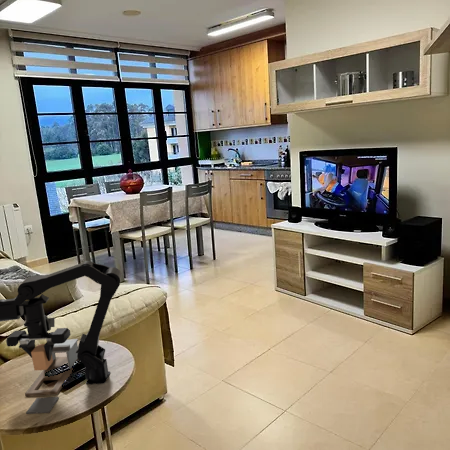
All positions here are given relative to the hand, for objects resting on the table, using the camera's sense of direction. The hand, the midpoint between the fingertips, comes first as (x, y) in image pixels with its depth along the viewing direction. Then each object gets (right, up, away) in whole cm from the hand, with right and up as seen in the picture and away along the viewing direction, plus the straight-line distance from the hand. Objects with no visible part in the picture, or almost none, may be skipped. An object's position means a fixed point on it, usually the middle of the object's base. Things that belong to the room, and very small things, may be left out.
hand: (43, 360), depth 138 cm
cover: (+1, -5, +14) cm, 15 cm away
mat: (+4, -11, -8) cm, 14 cm away
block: (0, -2, 0) cm, 2 cm away
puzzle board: (+1, -8, +8) cm, 11 cm away
